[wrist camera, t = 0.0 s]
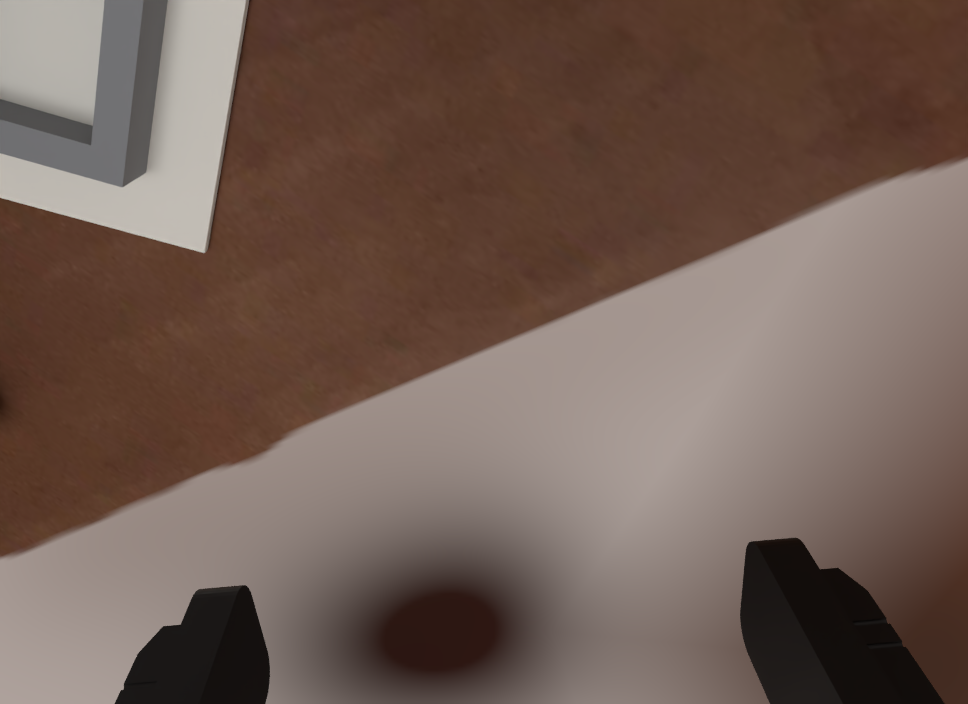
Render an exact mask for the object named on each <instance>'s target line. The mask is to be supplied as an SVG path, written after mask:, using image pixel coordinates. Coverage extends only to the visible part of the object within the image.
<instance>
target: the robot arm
mask: <svg viewBox="0 0 968 704" xmlns="http://www.w3.org/2000/svg"><path fill="white" fill-rule="evenodd" d="M740 619H741V629H742V634H743V639H744V642H745V646H746V649H747V652H748V655H749V657H750V659H751V662H752V664H753V666H754V668H755V671H756V673H757V675H758V677H759V680H760V682H761V684H762V686H763V689H764V691H765V693H766V696H767V698H768V700H769V702H770V704H944V703H943V701H942V699H941V698H940V696H939V695H938V693H937V692H936V690H935V689H934V687H933V686H932V684H931V683H930V682H929V680H928V679H927V677H926V676H925V674H924V673H923V671H922V670H921V668H920V667H919V665H918V664H917V662H916V661H915V660H914V658H913V657H912V655H911V654H910V652H909V651H908V649H907V648H906V647H903V645H902V640H901V639H900V638H899V636H898V635H897V633H896V632H895V630H894V629H893V627H892V626H891V624H888V623H887V621H886V617H885V616H884V614H883V613H882V611H881V610H880V609H879V607H878V605H877V604H876V602H875V601H874V599H873V598H872V597H871V595H870V594H869V592H868V591H867V590H866V589H865V588H863V587H862V586H861V585H859V584H858V583H857V582H856V581H854V580H853V579H852V578H850V577H849V576H848V575H847V574H845V573H844V572H843V571H841V570H840V569H839V568H832V569H821V570H820V569H819V567H818V566H817V564H816V563H815V561H814V559H813V558H812V556H811V555H810V553H809V551H808V550H807V548H806V547H805V545H804V544H803V542H802V541H801V540H800V539H798V538H788V539H775V540H764V541H753V542H749V544H748V545H747V548H746V555H745V566H744V577H743V588H742V599H741V610H740ZM269 677H270V665H269V656H268V651H267V648H266V644H265V641H264V637H263V633H262V630H261V626H260V623H259V619H258V616H257V613H256V609H255V605H254V602H253V598H252V595H251V592H250V590H249V588H248V587H247V586H245V585H244V586H243V585H242V586H231V587H220V588H208V589H199V590H197V591H196V592H195V594H194V595H193V597H192V599H191V602H190V604H189V606H188V609H187V611H186V614H185V616H184V619H183V621H182V623H181V625H173V626H163V627H162V628H161V629H160V631H159V632H158V633H157V634H156V635H155V636H154V637H153V638H152V639H151V640H150V641H149V642H148V643H147V645H146V646H145V647H144V648H143V649H142V650H141V651H140V652H139V653H138V655H137V657H136V659H135V661H134V663H133V666H132V668H131V670H130V672H129V674H128V676H127V678H126V681H125V683H124V690H121V691H120V693H119V696H118V698H117V700H116V702H115V704H265V702H266V699H267V694H268V689H269Z"/></svg>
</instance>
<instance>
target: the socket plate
mask: <svg viewBox="0 0 968 704" xmlns="http://www.w3.org/2000/svg"><path fill="white" fill-rule="evenodd" d="M248 5H249V0H0V198H3V199H7V200H11V201H14V202H18V203H22V204H25V205H29V206H33V207H36V208H40V209H44V210H47V211H51V212H55V213H59V214H62V215H66V216H70V217H73V218H77V219H81V220H84V221H88V222H92V223H95V224H99V225H103V226H106V227H110V228H114V229H118V230H121V231H125V232H129V233H132V234H136V235H140V236H143V237H147V238H151V239H154V240H158V241H162V242H165V243H169V244H173V245H177V246H180V247H184V248H188V249H191V250H195V251H199V252H202V253H205V252H206V251H207V250H208V245H209V239H210V233H211V227H212V221H213V215H214V209H215V203H216V197H217V191H218V185H219V179H220V173H221V167H222V161H223V155H224V149H225V143H226V137H227V131H228V125H229V119H230V113H231V107H232V101H233V95H234V89H235V83H236V77H237V71H238V65H239V59H240V53H241V47H242V41H243V35H244V29H245V23H246V17H247V11H248Z"/></svg>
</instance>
